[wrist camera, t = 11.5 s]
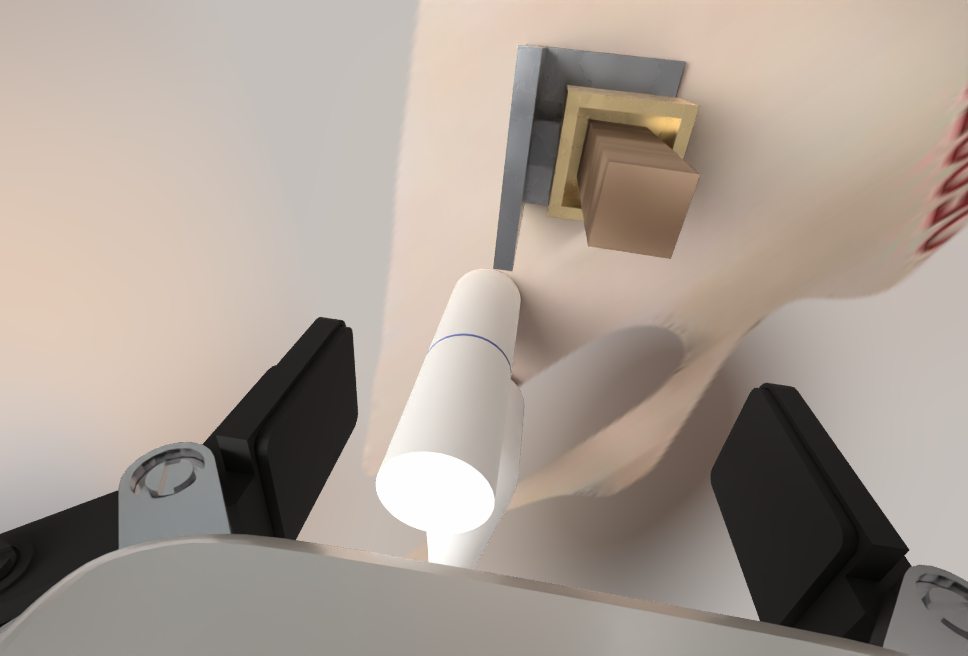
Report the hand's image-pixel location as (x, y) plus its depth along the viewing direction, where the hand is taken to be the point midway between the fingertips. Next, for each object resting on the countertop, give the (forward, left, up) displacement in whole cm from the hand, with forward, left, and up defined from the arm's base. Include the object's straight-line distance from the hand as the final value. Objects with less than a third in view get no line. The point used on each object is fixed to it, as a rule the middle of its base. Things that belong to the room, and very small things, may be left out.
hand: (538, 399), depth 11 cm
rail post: (-1, +4, -27) cm, 28 cm away
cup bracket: (-1, +3, -34) cm, 34 cm away
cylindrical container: (+16, -4, -34) cm, 38 cm away
